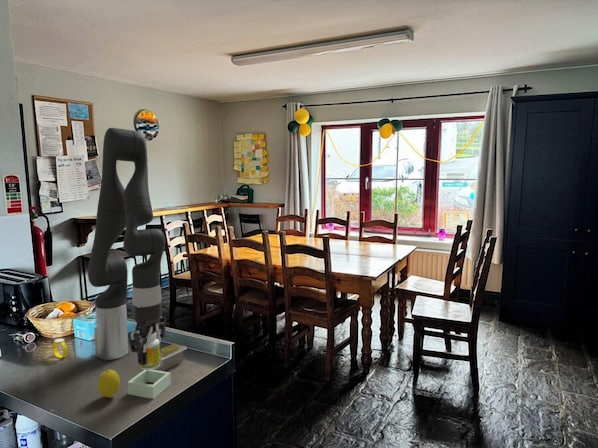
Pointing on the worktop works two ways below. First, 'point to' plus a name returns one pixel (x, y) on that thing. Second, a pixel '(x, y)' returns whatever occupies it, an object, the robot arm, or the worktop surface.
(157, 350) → the supplement bottle
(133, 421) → the worktop surface
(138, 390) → the pale green open box
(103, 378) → the lemon
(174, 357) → the butter dish
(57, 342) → the watch
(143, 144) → the robot arm
